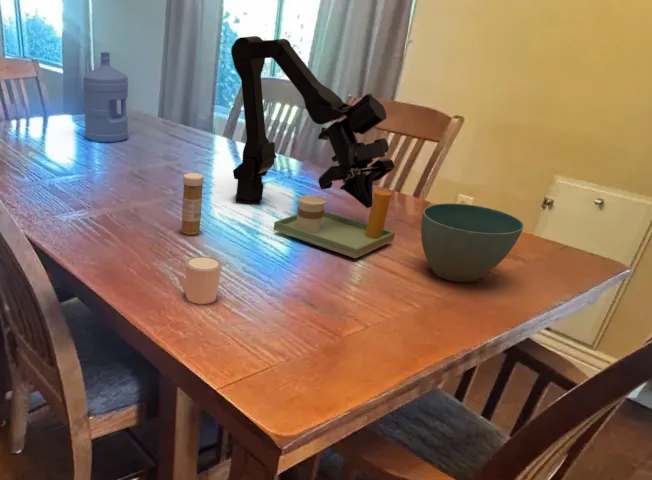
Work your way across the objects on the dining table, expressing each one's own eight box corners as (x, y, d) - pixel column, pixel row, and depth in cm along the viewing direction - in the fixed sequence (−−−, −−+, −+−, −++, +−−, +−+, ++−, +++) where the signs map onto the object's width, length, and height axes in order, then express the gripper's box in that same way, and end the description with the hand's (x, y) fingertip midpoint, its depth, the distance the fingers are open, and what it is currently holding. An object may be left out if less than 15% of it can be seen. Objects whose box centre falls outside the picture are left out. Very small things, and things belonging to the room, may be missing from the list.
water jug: (80, 141, 218) (76, 54, 203) (91, 132, 231) (88, 49, 216) (123, 144, 216) (122, 56, 201) (131, 134, 229) (131, 51, 214)
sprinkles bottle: (194, 227, 147) (197, 171, 140) (203, 234, 144) (207, 176, 136) (177, 230, 145) (179, 173, 138) (186, 236, 142) (189, 178, 135)
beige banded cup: (288, 228, 143) (292, 198, 139) (304, 222, 147) (309, 193, 143) (310, 236, 139) (316, 205, 135) (326, 229, 143) (332, 200, 139)
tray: (273, 230, 144) (279, 184, 138) (312, 215, 153) (320, 172, 148) (355, 258, 131) (366, 209, 125) (393, 240, 140) (405, 194, 134)
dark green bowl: (389, 263, 131) (403, 208, 125) (453, 252, 137) (469, 198, 131) (455, 299, 117) (475, 238, 111) (522, 285, 123) (545, 226, 117)
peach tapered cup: (180, 289, 118) (182, 255, 115) (215, 288, 119) (218, 255, 115) (185, 305, 113) (187, 270, 109) (222, 305, 113) (225, 270, 109)
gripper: (337, 129, 131) (363, 194, 129) (399, 122, 139) (424, 184, 137) (306, 157, 141) (330, 219, 139) (365, 150, 149) (389, 208, 147)
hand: (369, 207), depth 140 cm, fingers closed
